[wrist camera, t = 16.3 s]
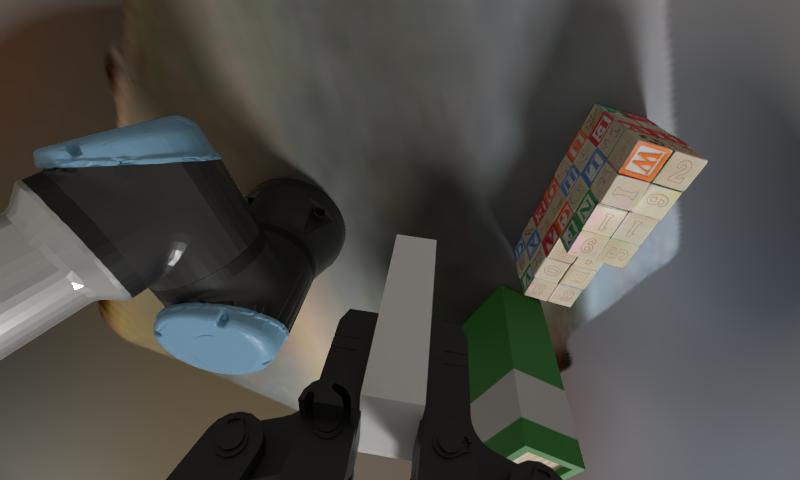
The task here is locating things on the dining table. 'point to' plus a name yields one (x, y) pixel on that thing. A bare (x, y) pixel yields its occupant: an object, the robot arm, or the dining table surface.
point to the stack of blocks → (602, 202)
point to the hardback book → (519, 385)
